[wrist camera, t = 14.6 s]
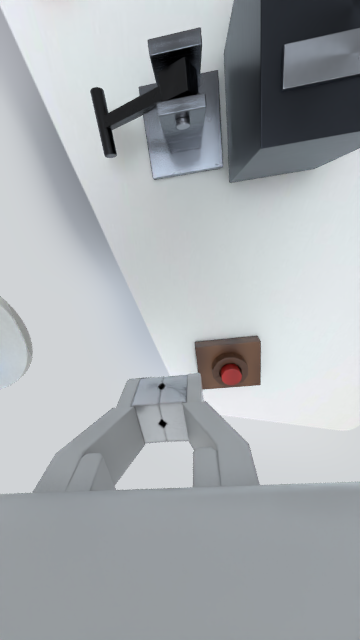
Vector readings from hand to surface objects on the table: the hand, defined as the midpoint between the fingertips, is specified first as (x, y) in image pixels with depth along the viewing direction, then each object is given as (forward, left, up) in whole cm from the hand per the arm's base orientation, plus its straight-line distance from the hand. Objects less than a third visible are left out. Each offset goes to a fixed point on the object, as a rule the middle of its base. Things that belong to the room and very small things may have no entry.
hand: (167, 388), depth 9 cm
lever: (-2, +18, -23) cm, 29 cm away
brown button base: (+6, -20, -31) cm, 37 cm away
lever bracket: (+2, +18, -31) cm, 36 cm away
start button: (+6, -20, -27) cm, 35 cm away
